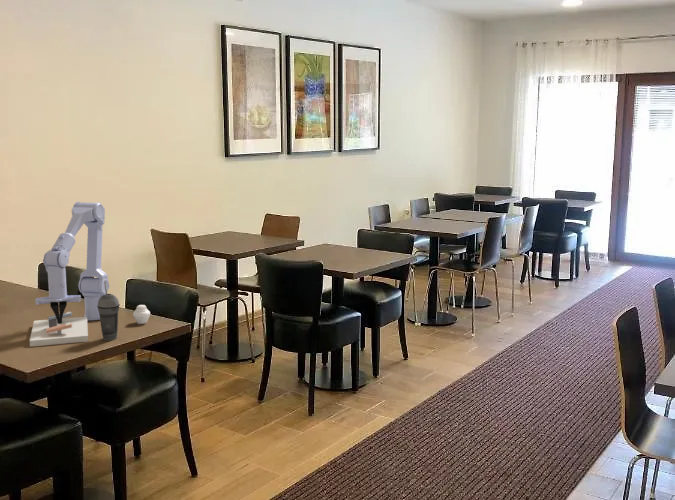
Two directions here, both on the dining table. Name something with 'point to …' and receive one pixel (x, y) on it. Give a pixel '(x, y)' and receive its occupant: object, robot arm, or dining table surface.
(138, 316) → the white rounded jar
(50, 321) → the block
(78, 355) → the dining table surface
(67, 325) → the pink plate with label
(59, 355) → the dining table surface
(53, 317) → the plate
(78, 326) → the switch panel
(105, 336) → the beverage cup
